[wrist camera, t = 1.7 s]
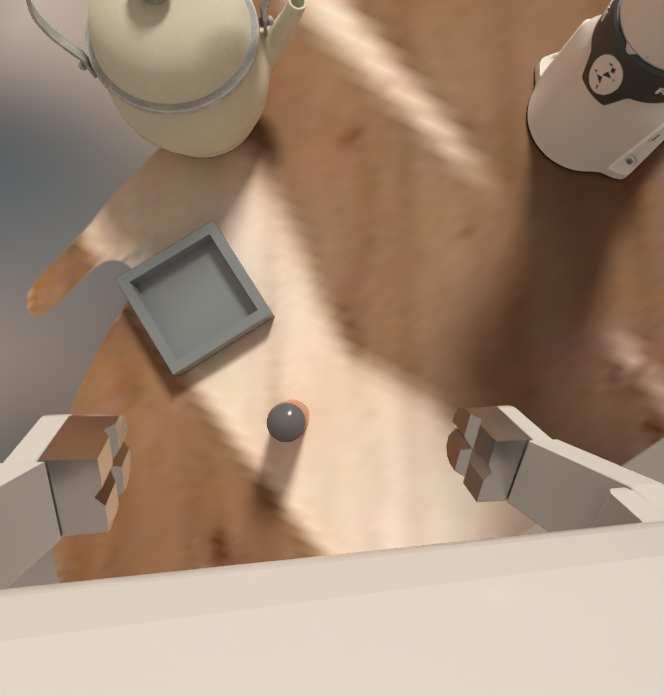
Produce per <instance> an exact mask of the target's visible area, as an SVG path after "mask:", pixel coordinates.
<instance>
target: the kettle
mask: <svg viewBox="0 0 664 696" xmlns="http://www.w3.org/2000/svg"><path fill="white" fill-rule="evenodd" d="M26 2H27V6H28V9H29V12H30V15H31V16H32V18H33V20H34V21H35V23H36V24H37V25H38V27H39V28H40V29H41V30H42V31H43V32H44V33H45V34H46V35H47V36H48V37H49V38H50V39H52V40H53V41H54V42H55V43H57V44H58V45H59V46H60V47H62V48H63V49H64V50H66V51H67V52H68V53H70V54H71V55H73V56H74V57H76V58H77V59H78V60H80V61H79V62H78V66H79V68H80V69H81V70H86V69H88V70H89V71H90V72H91V74H92V75H93V77H94V78H96V77H98V78H99V80H100V81H101V82H102V83H103V85H104V86H105V87H106V88H107V89H108V91H109V94H110V96H111V98H112V100H113V102H114V104H115V106H116V107H117V109H118V110H119V112H120V114H121V115H122V116H123V118H124V119H125V120H126V121H127V123H128V124H129V125H130V126H131V127H132V128H133V129H134V130H135V131H136V132H137V133H138V134H140V135H141V136H142V137H143V138H145V139H146V140H148V141H149V142H151V143H152V144H154V145H156V146H158V147H160V148H163V149H165V150H168V151H171V152H174V153H179V154H184V155H187V156H192V157H201V158H205V157H214V156H218V155H222V154H224V153H227V152H229V151H231V150H233V149H234V148H236V147H237V146H239V145H240V144H241V143H242V142H243V141H244V140H245V139H246V138H247V137H248V136H249V134H250V133H251V131H252V130H253V128H254V126H255V125H256V123H257V122H258V120H259V119H260V117H261V115H262V113H263V110H264V107H265V104H266V101H267V96H268V91H269V84H270V77H271V72H272V70H273V68H274V67H275V66H276V65H277V63H278V62H279V60H280V59H281V57H282V56H283V54H284V53H285V51H286V49H287V47H288V45H289V43H290V41H291V39H292V37H293V34H294V32H295V30H296V28H297V25H298V23H299V21H300V19H301V16H302V14H303V12H304V10H305V8H306V5H307V2H306V0H287V2H286V4H285V6H284V8H283V10H282V11H281V13H280V14H279V16H278V17H277V18H276V19H275V20H274V21H273V18H272V17H271V16H267V12H268V8H269V4H270V0H261V5H260V14H261V17H260V19H258V16H257V12H256V9H255V7H254V4H253V2H252V0H90V4H89V11H88V18H87V22H86V32H85V41H86V49H87V53H88V57H89V58H88V57H87V55H86V54H85V53H84V51H83V50H82V49H80V48H79V47H78V46H76V45H75V44H74V43H72V42H71V41H70V40H68V39H67V38H66V37H64V36H63V35H62V34H60V33H59V32H58V31H57V30H55V29H54V28H53V27H52V26H51V25H50V24H48V23H47V22H46V21H45V20H44V18H43V17H42V16H41V15H40V14H39V13H38V12H37V10H36V9H35V7H34V6H33V4H32V2H31V0H26ZM266 16H267V18H266ZM268 25H269V26H268Z"/></svg>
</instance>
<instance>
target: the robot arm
mask: <svg viewBox="0 0 664 696" xmlns="http://www.w3.org/2000/svg"><path fill="white" fill-rule="evenodd" d="M535 83H536V85H535V89H534V91H533V94H532V96H531V99H530V102H529V106H528V125H529V129H530V132H531V135H532V137H533V139H534V141H535V142H536V144H537V146H538V147H539V148H540V149H541V151H542V152H543V153H544V154H545V155H546V156H547V157H549V158H550V159H551V160H553V161H554V162H556V163H557V164H559V165H561V166H563V167H566V168H569V169H572V170H577V171H588V172H600V173H602V174H605V175H607V176H609V177H612V178H615V179H624V178H625V177H627V176H628V175H629V174H630V173H631V172H632V171H633V170H634V169H635V168H636V167H637V166H638V165H639V164H640V163H641V162H642V161H643V160H644V159H645V158H646V157H647V156H648V155H649V154H650V153H652V152H653V151H654V150H655V149H656V148H657V147H658V146H659V145H660V144H661V143H662V142H663V141H664V0H612V1H611V2H610V4H609V5H608V6H607V8H606V10H605V11H604V13H603V15H599V16H596V17H594V18H592V19H587V20H585V21H584V22H583V23H582V24H581V25H580V26H579V28H578V29H577V30H576V31H575V33H574V34H573V35H572V36H571V38H570V39H569V40H568V41H567V43H566V44H565V45H564V46H563V48H562V49H561V50H560V51H559V52H557V53H554V54H551V55H549V56H546V57H544V58H542V59H541V61H540V62H539V63H538V64H537V66H536V69H535ZM627 162H628V164H627ZM452 422H453V424H454V426H455V428H456V429H455V430H454V431H453V432H452V433H451V434H450V435H449V437H448V441H447V446H446V447H447V457H448V459H449V462H450V464H451V466H452V467H453V469H454V470H455V471H456V472H458V473H459V474H461V475H463V476H464V482H463V483H464V485H465V486H466V487H467V489H468V490H469V492H470V493H471V494H472V496H473V497H474V499H475V500H476V501H477V502H485V501H505V500H508V501H507V502H508V503H509V504H511V505H512V506H514V507H515V508H516V509H518V510H519V511H521V512H522V513H523V514H525V515H526V516H528V517H529V518H530V519H532V520H533V521H535V522H536V523H537V524H539V525H540V526H542V527H543V528H545V529H546V530H547V531H549V533H538V534H528V535H519V536H509V537H499V538H490V539H480V540H470V541H461V542H451V543H441V544H432V545H422V546H412V547H403V548H394V549H384V550H375V551H365V552H356V553H346V554H337V555H328V556H318V557H309V558H299V559H290V560H280V561H270V562H261V563H251V564H241V565H232V566H222V567H213V568H203V569H193V570H184V571H174V572H164V573H155V574H145V575H136V576H126V577H116V578H107V579H97V580H88V581H78V582H68V583H59V584H49V585H40V586H30V587H20V588H11V589H6V588H7V587H8V586H9V585H10V584H12V582H14V581H15V580H16V579H17V578H18V577H19V576H20V575H22V574H23V573H24V572H25V571H26V570H27V569H28V568H29V567H30V566H32V565H33V564H34V563H35V562H36V561H37V560H38V559H39V558H41V557H42V556H43V555H44V554H45V553H46V552H47V551H48V550H49V549H51V548H52V547H53V546H54V545H55V544H56V543H57V542H58V541H59V540H61V536H71V535H80V534H89V533H99V532H108V531H109V530H110V527H111V525H112V522H113V520H114V517H115V514H116V512H117V509H118V507H119V505H118V497H117V496H118V495H119V494H121V493H122V492H123V491H124V490H125V488H126V485H127V482H128V477H129V471H130V449H129V447H128V446H127V445H126V444H125V443H124V442H123V440H124V438H125V435H126V433H127V425H126V419H125V417H124V416H123V414H93V415H71V414H65V415H46V416H43V417H41V418H40V419H39V420H38V422H37V423H36V424H35V425H34V426H33V428H32V429H31V430H30V431H29V432H28V434H27V435H26V436H25V437H24V439H23V440H22V441H21V442H20V443H19V444H18V446H17V447H16V448H15V450H13V452H12V453H11V454H10V455H9V456H8V458H7V459H6V460H5V461H4V462H3V463H0V696H664V485H663V484H662V483H659V482H657V481H655V480H652V479H650V478H648V477H645V476H643V475H640V474H638V473H636V472H633V471H631V470H628V469H626V468H624V467H621V466H619V465H617V464H614V463H612V462H610V461H607V460H605V459H602V458H600V457H598V456H595V455H593V454H591V453H588V452H586V451H584V450H581V449H579V448H576V447H574V446H572V445H569V444H567V443H565V442H562V441H560V440H557V439H555V440H552V439H551V438H550V437H549V436H547V435H546V434H545V433H544V432H543V431H542V430H540V429H539V428H538V427H537V426H536V425H535V424H534V423H532V422H531V421H530V420H529V419H528V418H527V417H525V416H524V415H523V414H522V413H521V412H520V411H519V410H517V409H516V408H515V407H512V406H509V405H507V406H492V407H473V408H458V409H457V411H456V412H455V414H454V418H453V421H452Z"/></svg>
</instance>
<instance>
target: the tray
mask: <svg viewBox="0 0 664 696" xmlns="http://www.w3.org/2000/svg"><path fill="white" fill-rule="evenodd" d="M116 281H117V283H118V284H119V286H120V288H121V289H122V291H123V292H124V294H125V296H126V298H127V299H128V301H129V302H130V304H131V306H132V307H133V309H134V311H135V312H136V314H137V316H138V317H139V319H140V321H141V322H142V324H143V326H144V327H145V329H146V331H147V332H148V334H149V335H150V337H151V339H152V340H153V342H154V344H155V345H156V347H157V349H158V350H159V352H160V354H161V355H162V357H163V359H164V360H165V362H166V363H167V365H168V367H169V368H170V370H171V372H172V373H173V375H182V374H184V373H186V372H187V371H189V370H190V369H192V368H194V367H195V366H197V365H198V364H200V363H202V362H203V361H205V360H206V359H208V358H210V357H211V356H213V355H214V354H216V353H218V352H219V351H221V350H222V349H224V348H226V347H227V346H229V345H230V344H232V343H234V342H235V341H237V340H238V339H240V338H242V337H243V336H245V335H246V334H248V333H250V332H251V331H253V330H254V329H256V328H258V327H259V326H261V325H262V324H264V323H266V322H267V321H269V320H271V319H272V318H274V317H275V316H274V315H273V313H272V312H271V310H270V309H269V307H268V306H267V304H266V302H265V301H264V299H263V298H262V296H261V295H260V293H259V291H258V290H257V288H256V287H255V285H254V284H253V282H252V280H251V279H250V277H249V276H248V274H247V273H246V271H245V269H244V268H243V266H242V265H241V263H240V262H239V260H238V258H237V257H236V255H235V254H234V252H233V251H232V249H231V247H230V246H229V244H228V243H227V241H226V240H225V238H224V236H223V235H222V233H221V232H220V230H219V229H218V227H217V226H216V224H215V223H214V221H211V222H210V223H208V224H206V225H205V226H203V227H201V228H200V229H198V230H196V231H195V232H193V233H191V234H190V235H188V236H186V237H185V238H183V239H181V240H180V241H178V242H176V243H174V244H173V245H171V246H169V247H168V248H166V249H164V250H163V251H161V252H159V253H158V254H156V255H154V256H153V257H151V258H149V259H148V260H146V261H144V262H143V263H141V264H139V265H138V266H136V267H134V268H133V269H131V270H129V271H128V272H126V273H124V274H123V275H121V276H119V277H118V278H116Z"/></svg>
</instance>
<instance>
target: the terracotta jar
mask: <svg viewBox="0 0 664 696" xmlns="http://www.w3.org/2000/svg"><path fill="white" fill-rule="evenodd" d="M308 422H309V411H308V409H307V407H306V406H305V405H304V404H303V403H302V402H300V401H297V400H288V401H285V402H282V403H279V404H277V405H276V406H274V407H273V408H272V410H271V411H270V413H269V415H268V418H267V428H268V431H269V433H270V434H271V435H272V436H273V437H274V438H275V439H276V440H279V441H282V442H291V441H294V440H296V439H298V438H299V437H300V436H301V435H302V434H303V432H304V431H305V429H306V426H307V424H308Z"/></svg>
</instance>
